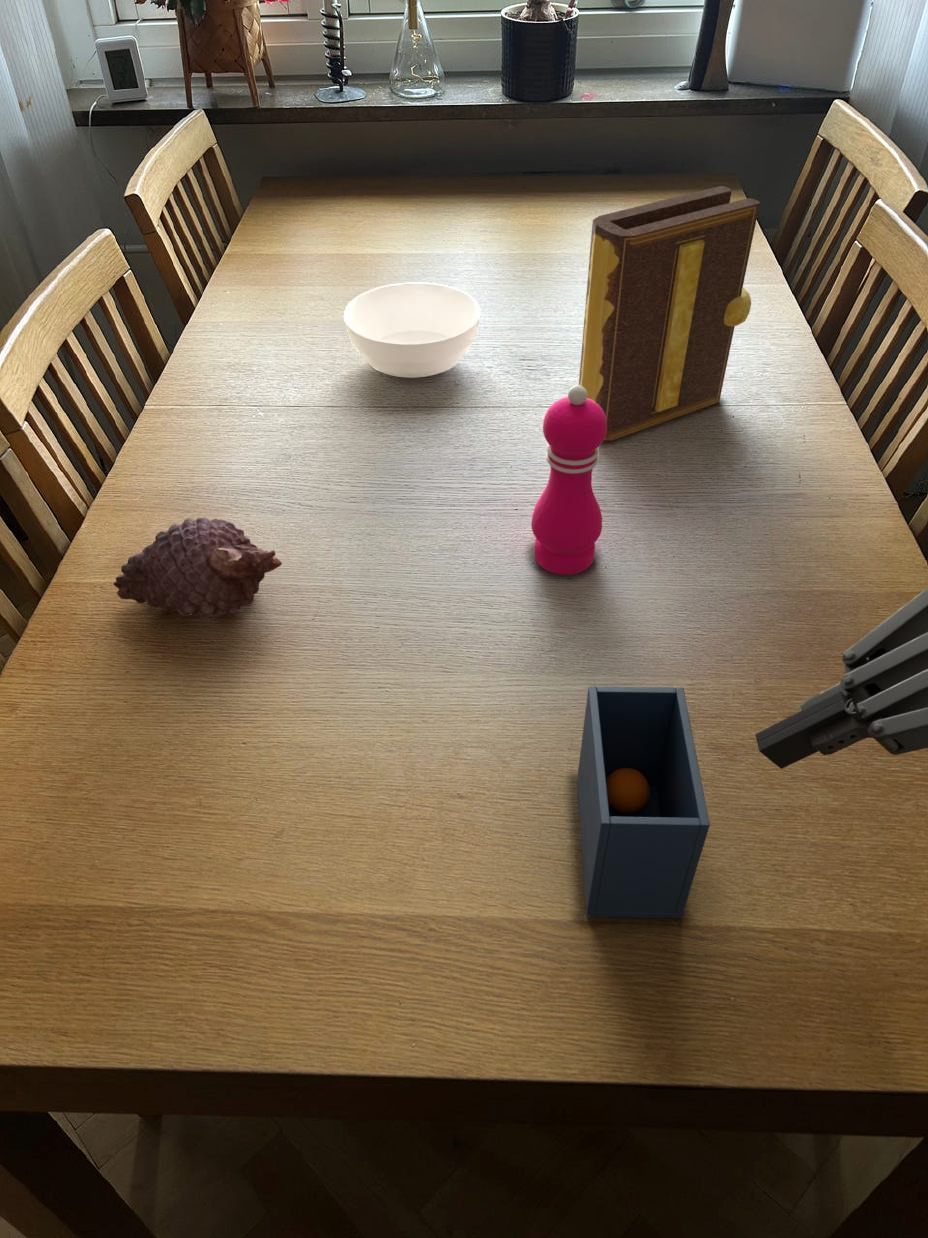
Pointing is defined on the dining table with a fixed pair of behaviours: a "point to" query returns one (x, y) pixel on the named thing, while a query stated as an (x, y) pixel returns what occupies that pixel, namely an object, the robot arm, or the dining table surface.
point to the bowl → (412, 327)
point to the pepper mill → (570, 485)
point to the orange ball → (627, 790)
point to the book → (664, 306)
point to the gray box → (664, 828)
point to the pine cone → (197, 569)
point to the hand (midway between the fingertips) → (768, 751)
